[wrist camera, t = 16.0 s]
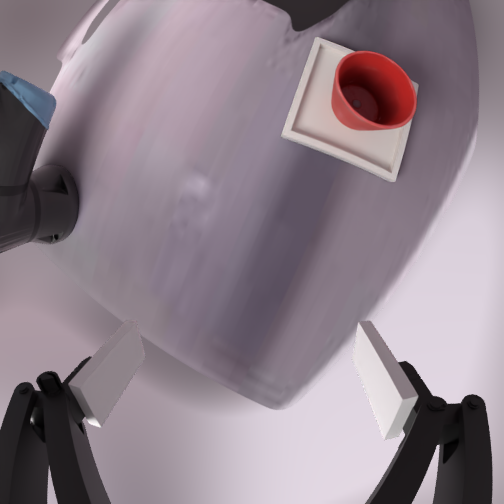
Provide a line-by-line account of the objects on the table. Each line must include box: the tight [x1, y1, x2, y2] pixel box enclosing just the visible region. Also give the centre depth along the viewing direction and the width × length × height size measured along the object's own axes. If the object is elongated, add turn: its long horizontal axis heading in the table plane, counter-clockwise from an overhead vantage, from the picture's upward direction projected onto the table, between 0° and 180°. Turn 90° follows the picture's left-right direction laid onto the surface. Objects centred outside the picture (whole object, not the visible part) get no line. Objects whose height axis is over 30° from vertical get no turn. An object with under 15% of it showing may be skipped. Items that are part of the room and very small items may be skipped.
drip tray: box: [281, 37, 419, 182], centre depth 33 cm, size 18×18×2 cm
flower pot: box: [331, 51, 417, 131], centre depth 29 cm, size 11×11×10 cm
